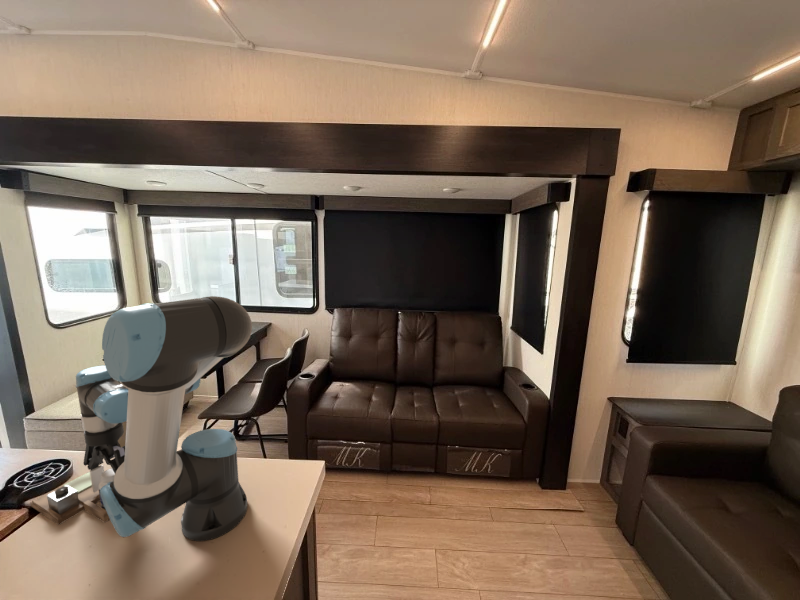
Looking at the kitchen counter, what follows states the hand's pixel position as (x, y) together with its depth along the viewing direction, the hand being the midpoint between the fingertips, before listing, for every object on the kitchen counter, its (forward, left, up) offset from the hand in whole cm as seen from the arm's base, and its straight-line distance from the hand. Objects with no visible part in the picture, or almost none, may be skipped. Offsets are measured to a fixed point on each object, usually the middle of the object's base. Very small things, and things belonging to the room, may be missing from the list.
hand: (113, 496), depth 88 cm
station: (+7, +3, -2) cm, 8 cm away
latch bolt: (+9, +7, -1) cm, 11 cm away
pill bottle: (0, 0, -2) cm, 2 cm away
